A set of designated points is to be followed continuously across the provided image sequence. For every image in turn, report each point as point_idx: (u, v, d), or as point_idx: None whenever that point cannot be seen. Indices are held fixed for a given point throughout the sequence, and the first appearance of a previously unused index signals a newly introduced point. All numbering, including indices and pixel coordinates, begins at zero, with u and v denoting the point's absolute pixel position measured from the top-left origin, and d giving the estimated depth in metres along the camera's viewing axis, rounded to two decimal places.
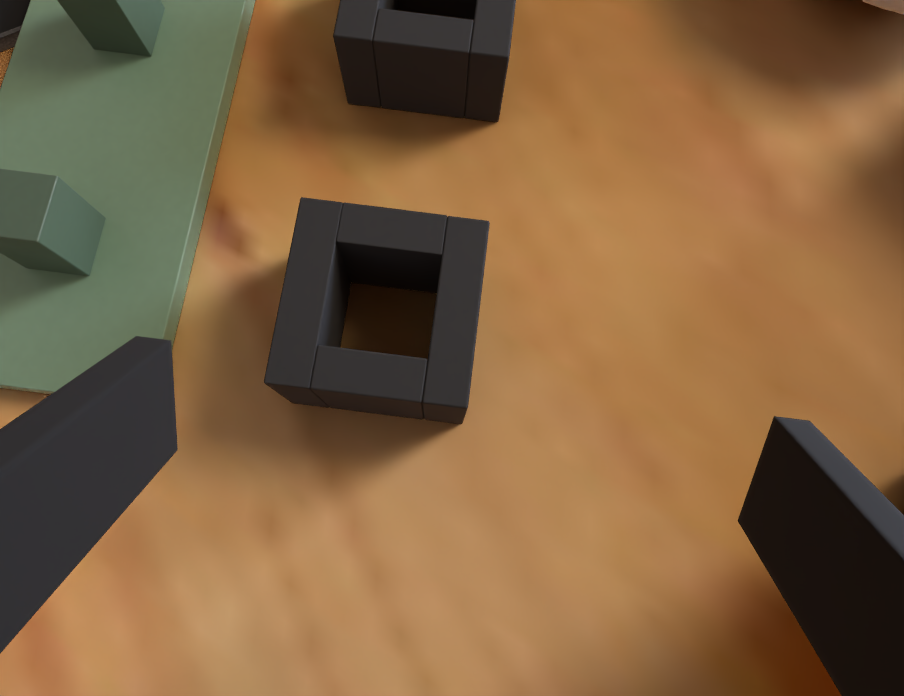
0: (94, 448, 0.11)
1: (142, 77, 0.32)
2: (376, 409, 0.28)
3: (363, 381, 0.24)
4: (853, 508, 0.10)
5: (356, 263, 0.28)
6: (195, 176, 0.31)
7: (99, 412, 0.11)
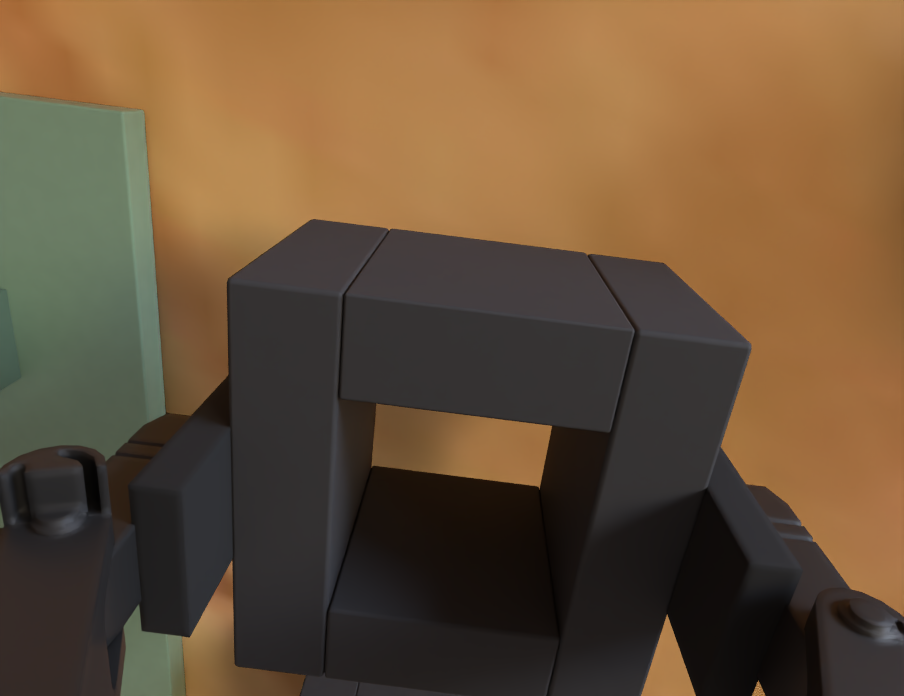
0: None
1: (22, 411, 0.21)
2: None
3: None
4: None
5: None
6: None
7: None
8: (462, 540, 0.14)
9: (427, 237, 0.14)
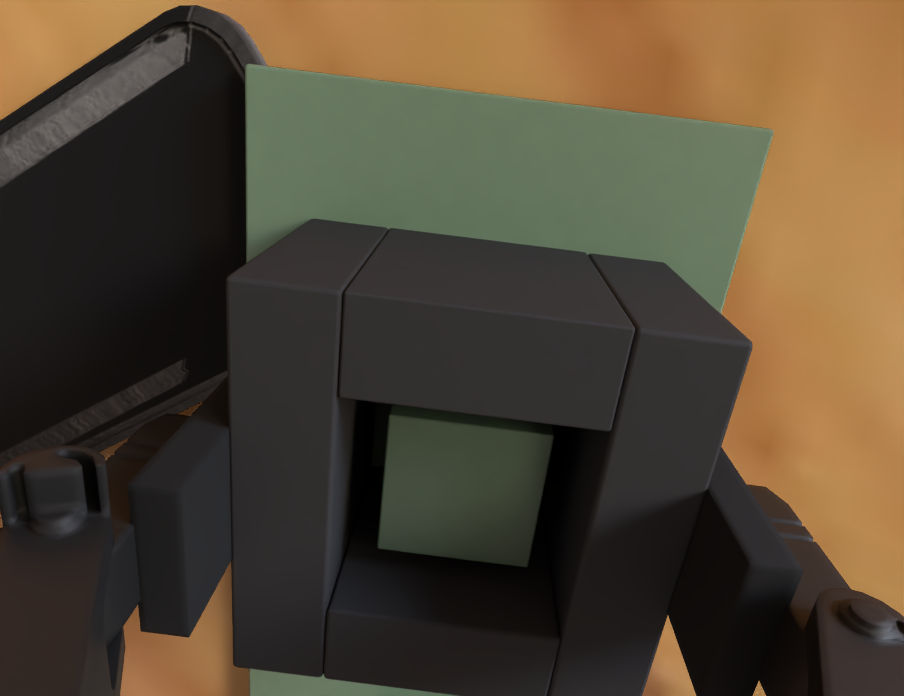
0: None
1: None
2: None
3: None
4: None
5: None
6: None
7: None
8: None
9: (427, 236, 0.14)
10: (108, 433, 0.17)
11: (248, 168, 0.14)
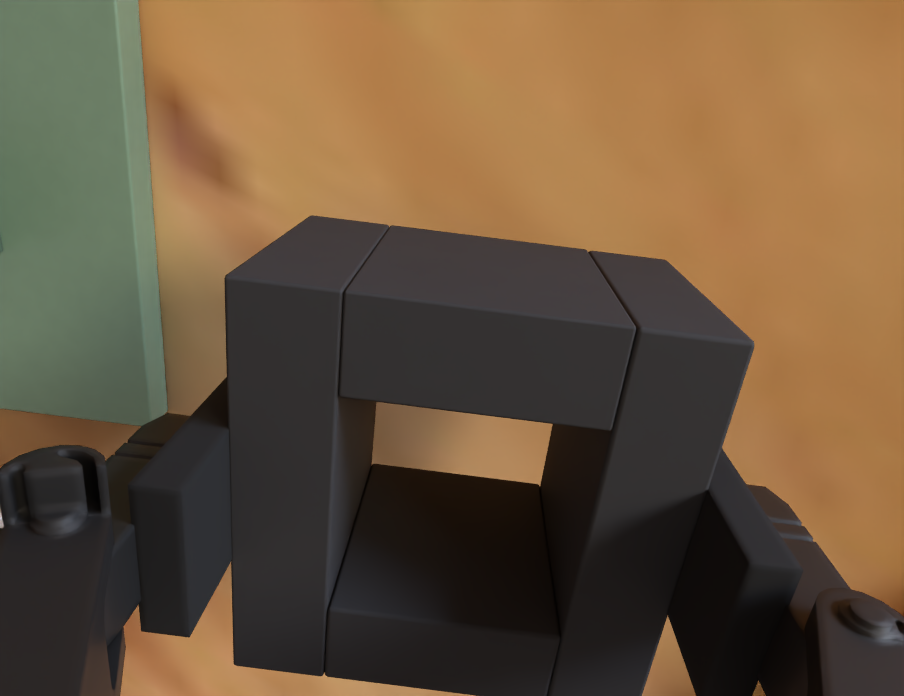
0: None
1: None
2: None
3: (429, 671, 0.12)
4: None
5: None
6: (107, 57, 0.16)
7: None
8: None
9: None
10: None
11: None
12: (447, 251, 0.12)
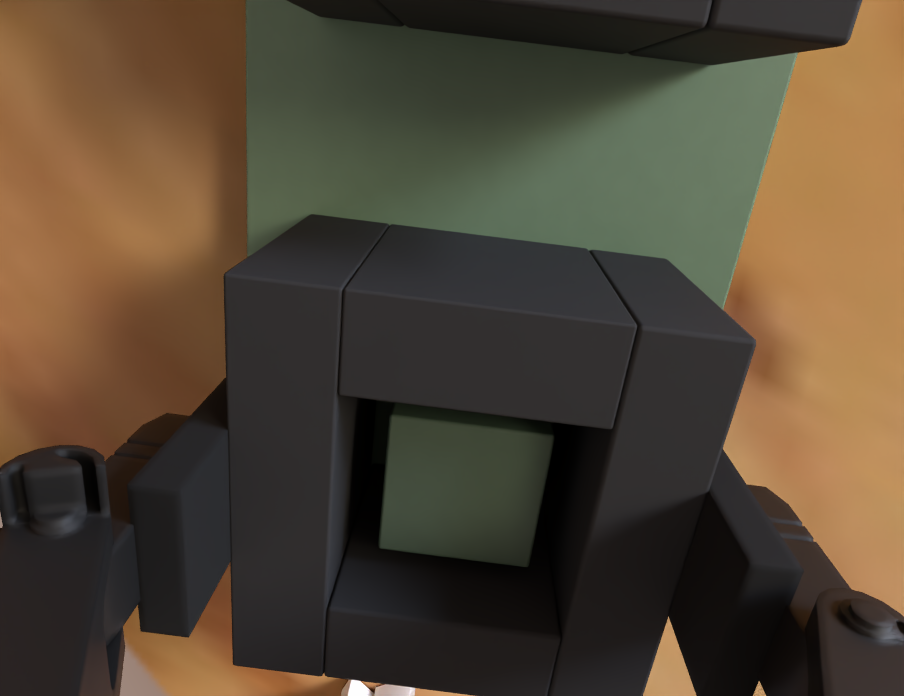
0: None
1: None
2: None
3: (429, 671, 0.12)
4: None
5: None
6: (723, 260, 0.14)
7: None
8: None
9: None
10: None
11: None
12: (447, 249, 0.12)
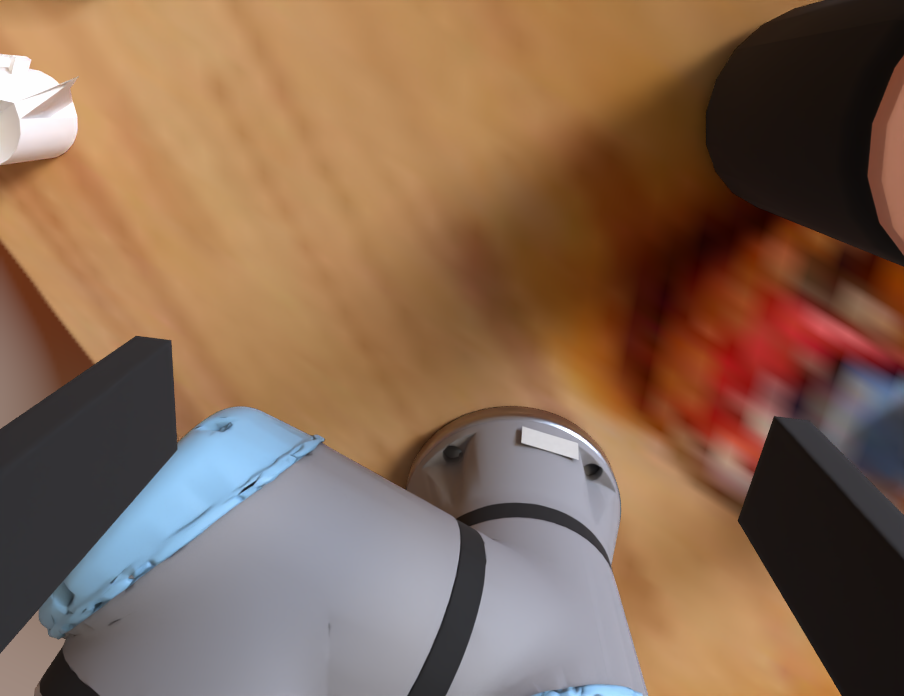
0: (94, 447, 0.11)
1: None
2: None
3: None
4: (853, 507, 0.10)
5: None
6: None
7: (98, 411, 0.11)
8: None
9: None
10: None
11: None
12: None
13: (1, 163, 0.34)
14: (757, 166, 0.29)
